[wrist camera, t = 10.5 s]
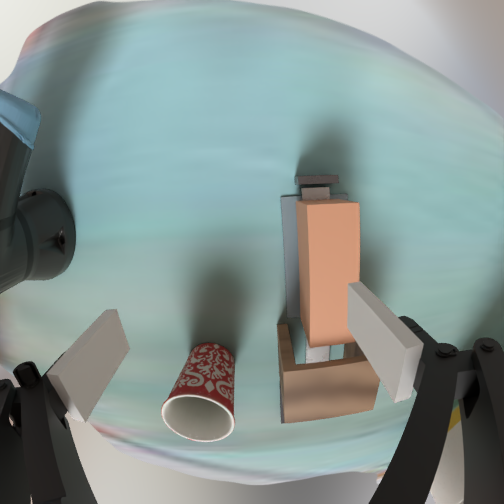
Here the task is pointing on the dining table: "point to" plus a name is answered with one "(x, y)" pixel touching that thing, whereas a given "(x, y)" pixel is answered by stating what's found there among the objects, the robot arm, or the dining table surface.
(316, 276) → the block
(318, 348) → the track
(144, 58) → the dining table surface
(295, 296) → the pad
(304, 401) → the open box
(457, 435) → the planter
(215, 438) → the mug
